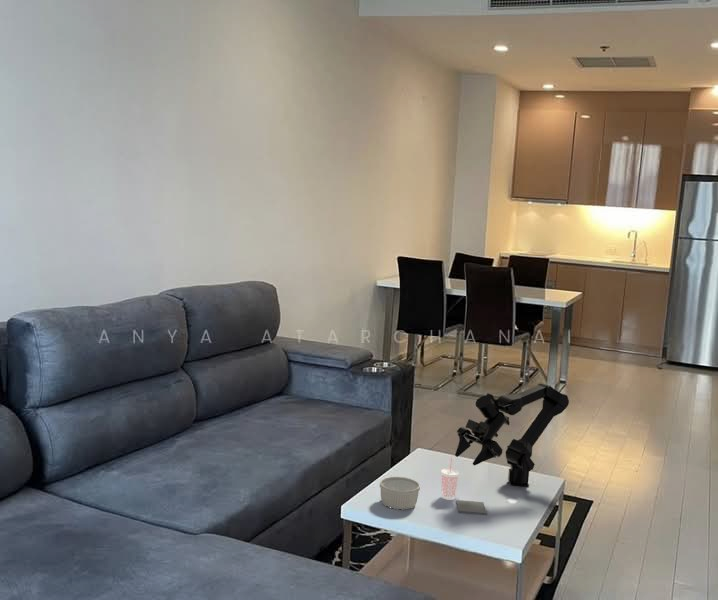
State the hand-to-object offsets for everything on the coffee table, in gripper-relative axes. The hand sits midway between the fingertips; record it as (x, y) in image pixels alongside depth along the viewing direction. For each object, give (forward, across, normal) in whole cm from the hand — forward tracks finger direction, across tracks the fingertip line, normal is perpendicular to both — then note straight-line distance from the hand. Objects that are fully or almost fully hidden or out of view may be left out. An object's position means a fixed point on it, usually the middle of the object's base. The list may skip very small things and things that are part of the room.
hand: (464, 460), depth 252 cm
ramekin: (+27, -2, -9) cm, 28 cm away
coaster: (+12, +10, +5) cm, 17 cm away
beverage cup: (+13, 0, +5) cm, 14 cm away
